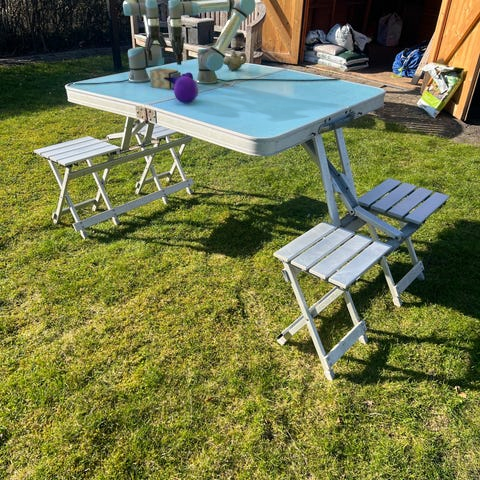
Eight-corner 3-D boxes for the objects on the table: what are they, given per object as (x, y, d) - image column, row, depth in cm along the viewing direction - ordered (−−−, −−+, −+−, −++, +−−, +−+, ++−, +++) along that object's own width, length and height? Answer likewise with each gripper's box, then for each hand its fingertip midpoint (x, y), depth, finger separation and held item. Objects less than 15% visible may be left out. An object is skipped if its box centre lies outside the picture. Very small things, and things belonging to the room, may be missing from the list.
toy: (187, 94, 295) (198, 108, 275) (161, 90, 288) (170, 104, 267) (192, 70, 287) (203, 83, 267) (165, 65, 280) (175, 77, 259)
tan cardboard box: (179, 86, 319) (178, 70, 314) (169, 89, 312) (168, 72, 306) (161, 84, 328) (159, 68, 322) (151, 86, 321) (149, 70, 315)
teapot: (227, 72, 362) (226, 52, 355) (220, 70, 371) (219, 51, 363) (249, 69, 371) (249, 50, 364) (242, 67, 380) (242, 48, 372)
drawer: (188, 86, 314) (187, 72, 310) (179, 89, 308) (178, 75, 303) (164, 83, 325) (163, 70, 321) (155, 85, 319) (154, 72, 314)
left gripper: (144, 27, 292) (148, 62, 303) (170, 24, 310) (173, 56, 321) (136, 27, 296) (140, 61, 307) (162, 23, 314) (165, 56, 324)
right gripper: (173, 27, 286) (177, 66, 298) (187, 25, 295) (189, 63, 307) (165, 27, 290) (168, 65, 302) (178, 25, 299) (181, 62, 311)
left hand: (157, 59), depth 314 cm, fingers open, 13 cm apart
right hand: (179, 64), depth 305 cm, fingers closed
